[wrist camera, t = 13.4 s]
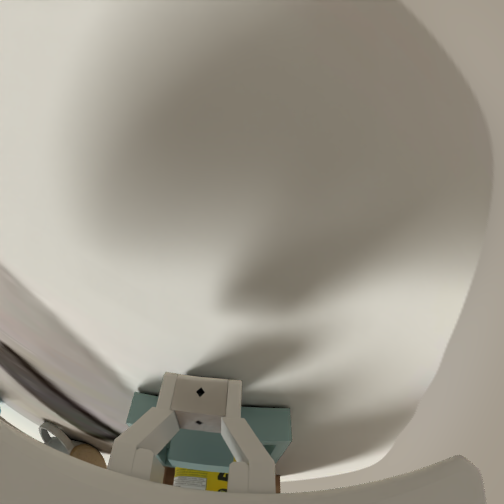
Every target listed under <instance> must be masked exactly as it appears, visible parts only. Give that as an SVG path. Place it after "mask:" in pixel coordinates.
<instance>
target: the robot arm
mask: <svg viewBox="0 0 504 504" xmlns="http://www.w3.org/2000/svg"><path fill="white" fill-rule="evenodd" d="M241 396H242V380H230V379H229V380H228V379H219V378H207V377H197V376H189V375H182V374H176V373H169V372H166V373H165V374H164V377H163V381H162V385H161V389H160V393H159V397H158V401H157V406H156V407H152V408H151V409H150V410H148V411H147V412H146V413H145V414H144V415H143V416H142V417H141V418H139V419H138V420H137V421H136V422H135V423H134V424H133V425H131V426H130V427H129V428H128V429H127V430H126V431H124V432H123V433H122V434H121V435H120V436H119V437H117V438H116V439H115V440H114V443H113V447H112V451H111V455H110V459H109V463H108V467H107V469H105V468H102V467H99V466H96V465H93V464H90V463H88V462H85V461H82V460H80V459H77V458H75V457H72V456H70V455H67V454H65V453H63V452H61V451H58V450H56V449H54V448H52V447H50V446H48V445H45V444H43V443H41V442H39V441H37V440H35V439H34V438H32V437H30V436H28V435H26V434H24V433H22V432H21V431H19V430H17V429H15V428H14V427H12V426H10V425H8V424H7V423H5V422H4V421H2V420H1V419H0V504H486V497H485V491H484V485H483V479H482V476H481V473H480V470H479V469H478V468H477V467H476V466H475V465H474V464H473V463H471V462H470V461H469V460H467V459H466V458H465V457H463V456H461V455H456V456H453V457H450V458H448V459H445V460H443V461H440V462H437V463H435V464H432V465H429V466H426V467H423V468H420V469H417V470H414V471H411V472H408V473H404V474H401V475H398V476H394V477H390V478H386V479H383V480H378V481H374V482H369V483H364V484H359V485H354V486H348V487H342V488H335V489H328V490H320V491H310V492H299V493H298V492H297V493H276V487H275V462H274V460H273V459H272V458H271V456H270V455H269V453H268V452H267V451H266V449H265V448H264V446H263V445H262V443H261V442H260V441H259V439H258V438H257V436H256V435H255V433H254V432H253V430H252V429H251V427H250V426H249V424H248V423H247V421H246V420H245V418H241ZM179 428H181V429H189V430H198V431H206V432H213V433H221V435H222V437H223V439H224V440H225V442H226V444H227V446H228V447H229V449H230V451H231V453H232V454H233V456H234V458H235V460H236V461H237V462H232V463H231V464H230V465H229V473H228V483H227V492H217V491H207V490H198V489H191V488H184V487H178V486H172V485H167V484H163V478H164V470H165V468H164V467H163V465H162V464H161V463H160V461H159V460H158V459H157V457H156V455H157V454H158V453H159V452H160V451H161V450H162V449H163V448H164V446H165V445H166V444H167V443H168V442H169V441H170V440H171V439H172V438H173V437H174V435H175V434H176V433H177V432H178V431H179V430H180V429H179Z"/></svg>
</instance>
